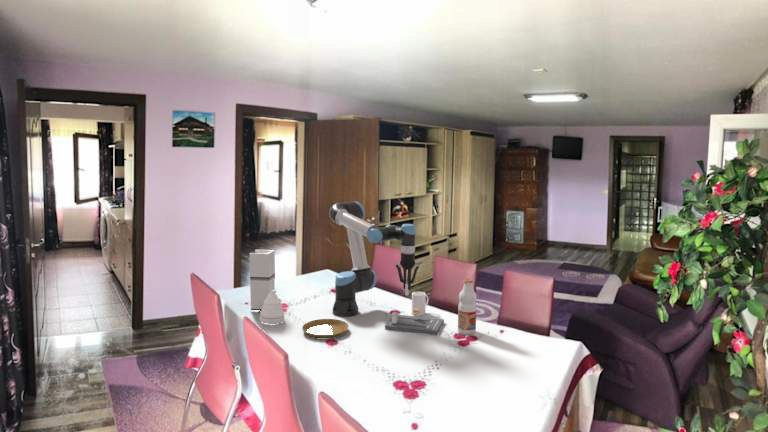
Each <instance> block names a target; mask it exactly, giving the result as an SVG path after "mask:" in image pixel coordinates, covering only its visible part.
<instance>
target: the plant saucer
mask: <svg viewBox="0 0 768 432" xmlns="http://www.w3.org/2000/svg"><path fill="white" fill-rule="evenodd" d="M323 324H328V325H329V326H330V325H331V326H332V328H333V329H332V328H331V329H332V330H333V331H332V332H333V335H314V334H310V333H307V332H306V331H307V329H309V328H310V327H313V326H317V325H323ZM301 328H302V331H303V333H304V334H305V335H306V336H308V337H310V338H312V337H314V338H313V339H317V338H331V339H335V338H334V337H336V338H338V336H339V337H340V336H342V335H344V334H345V333H346V332H347V331H348V329H349V324H348V323H347V322H346V321H343V320H340V319H336V318H335V319H334V318H321V319H320V318H319V319H314V320H311V321H308V322H305V323H304V324H303V325H302V327H301Z"/></svg>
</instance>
